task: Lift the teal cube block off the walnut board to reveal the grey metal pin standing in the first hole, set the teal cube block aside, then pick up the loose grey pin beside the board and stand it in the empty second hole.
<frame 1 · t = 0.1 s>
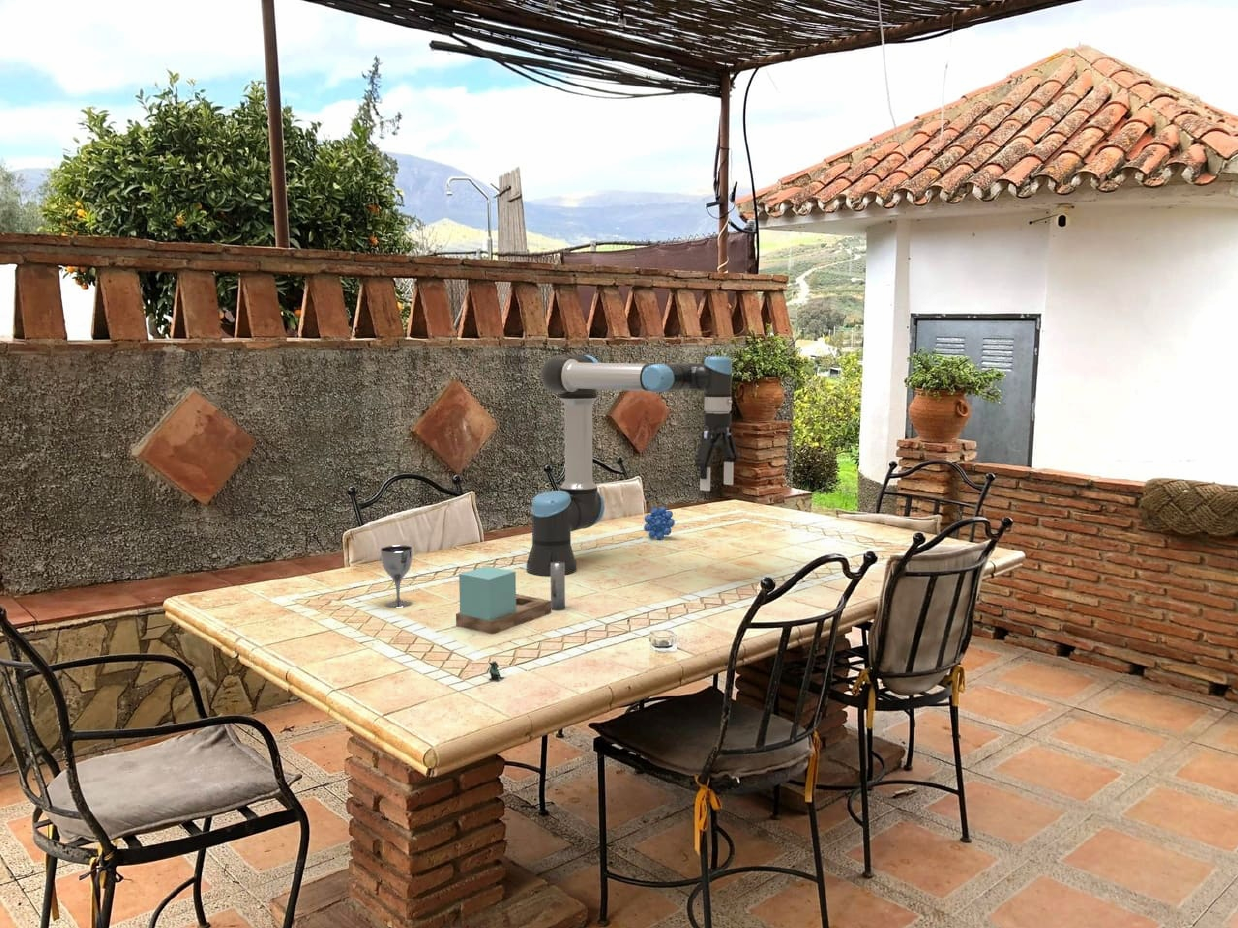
hand: (717, 487, 264), 28 cm above the table, tool pointing down, fingers open, 13 cm apart
teal cube block: (488, 612, 229), point 3 cm above the table, touching board
wine glass: (398, 604, 247), on the table
pin: (557, 608, 244), on the table
grapes: (660, 539, 329), on the table
sculpture: (496, 682, 192), on the table
board: (504, 618, 234), on the table
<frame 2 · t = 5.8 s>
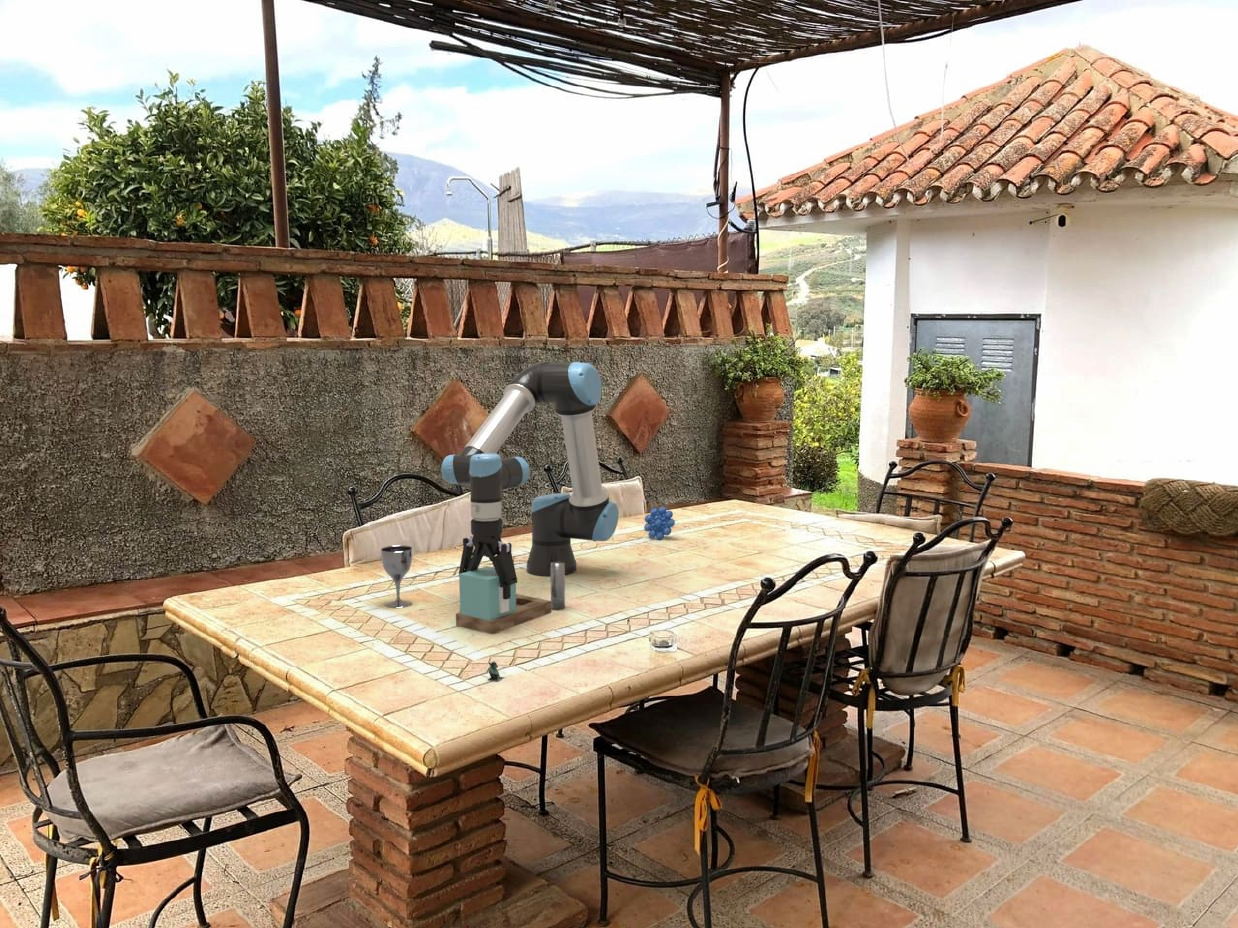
hand: (488, 608, 229), 4 cm above the table, tool pointing down, fingers closed on teal cube block, 10 cm apart
teal cube block: (488, 612, 229), point 3 cm above the table, touching board, gripper
everything else where it was.
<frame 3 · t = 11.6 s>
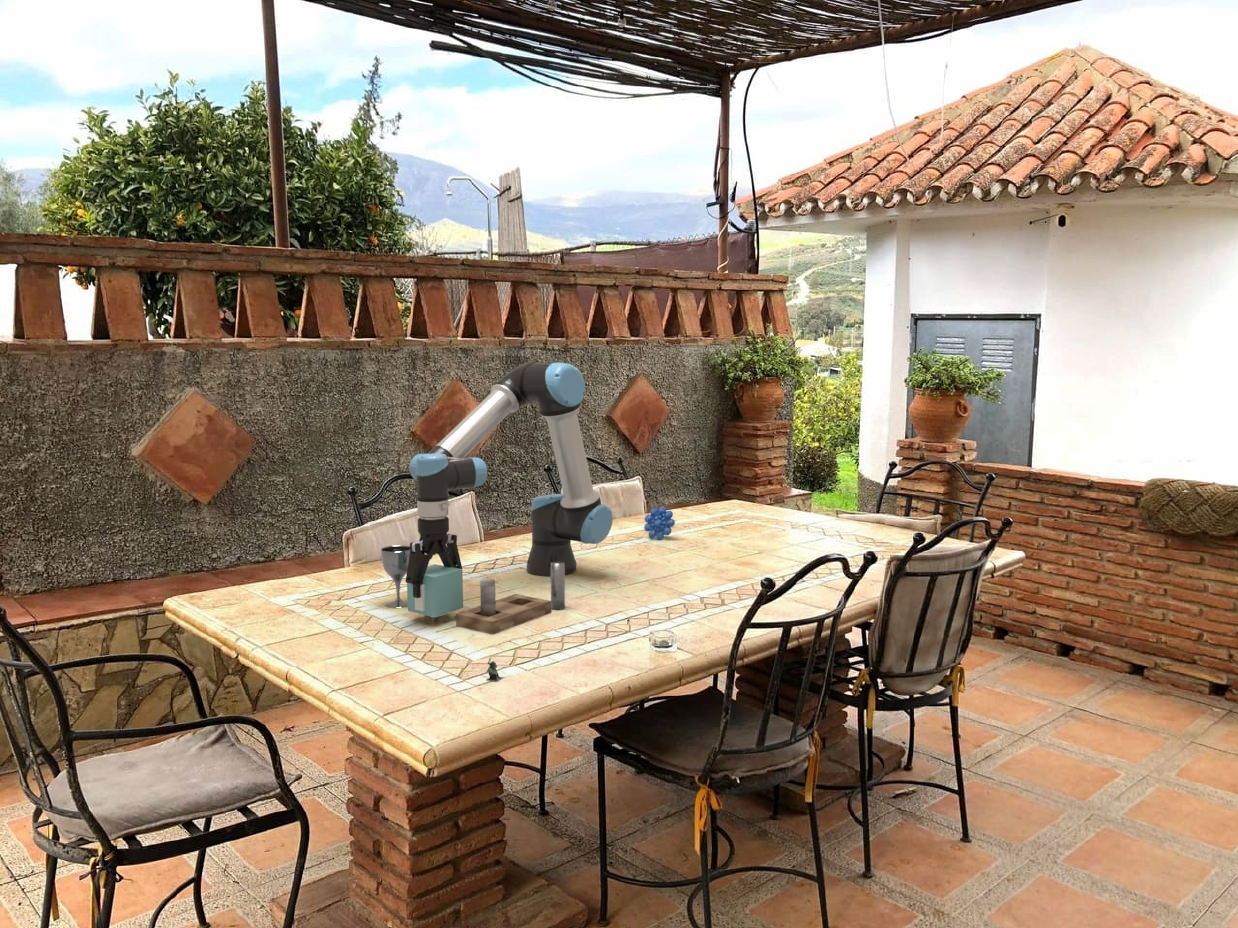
hand: (435, 605, 234), 4 cm above the table, tool pointing down, fingers closed on teal cube block, 10 cm apart
teal cube block: (435, 609, 234), point 2 cm above the table, touching gripper
everything else where it was.
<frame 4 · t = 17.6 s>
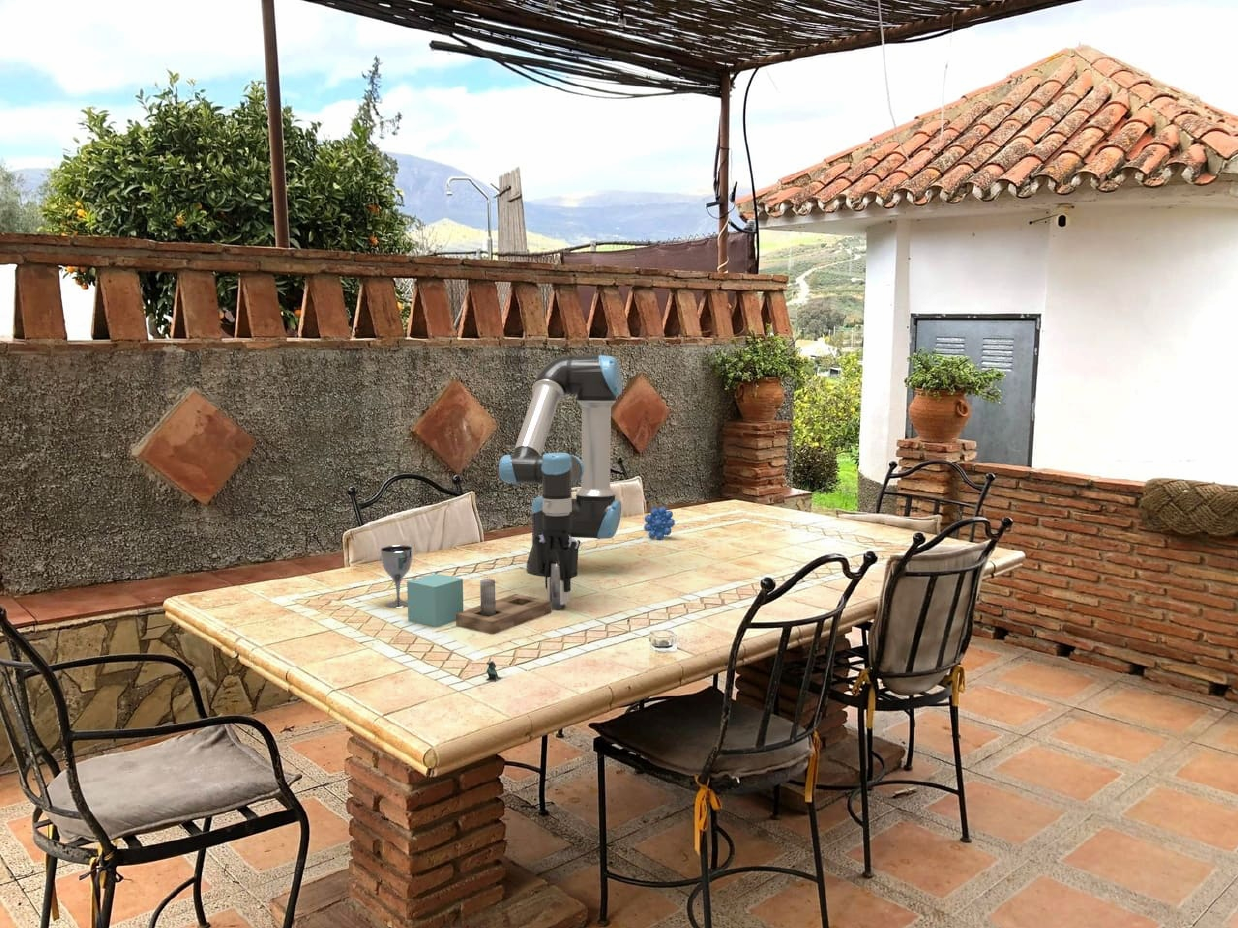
hand: (558, 602, 243), 2 cm above the table, tool pointing down, fingers closed on pin, 3 cm apart
teal cube block: (436, 619, 234), on the table
pin: (558, 608, 244), on the table, touching gripper
everything else where it was.
when the fingers open (4 cm above the table, at t = 23.7 s): pin stays where it is, resting in board.
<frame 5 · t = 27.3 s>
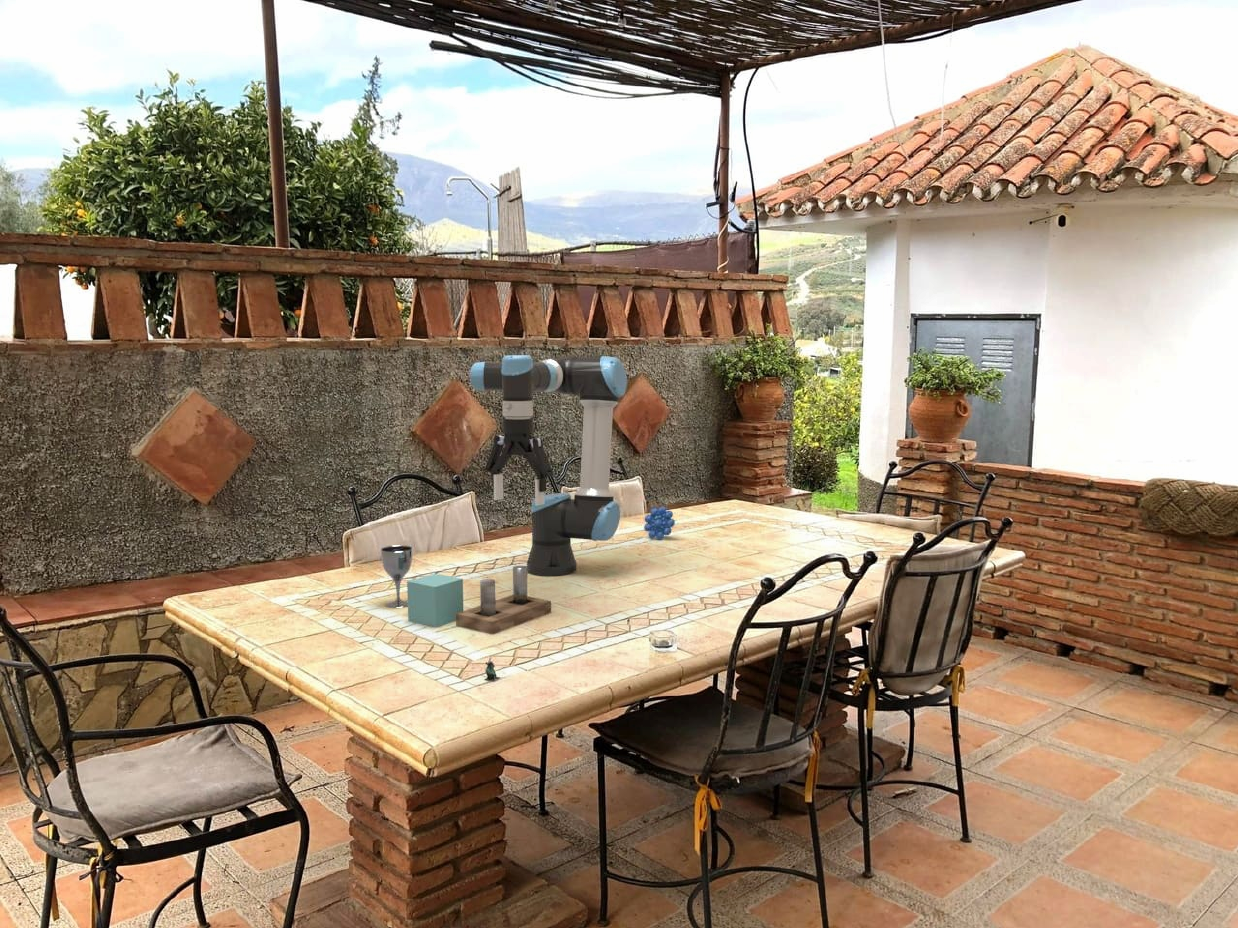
hand: (519, 502, 235), 29 cm above the table, tool pointing down, fingers open, 13 cm apart
pin: (520, 613, 239), resting in board
everything else where it was.
at the end: pin 0.0 cm from the target spot on the board, point 0.0 cm above the board's base; pin tilted 0°; teal cube block moved 14.8 cm from its start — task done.
